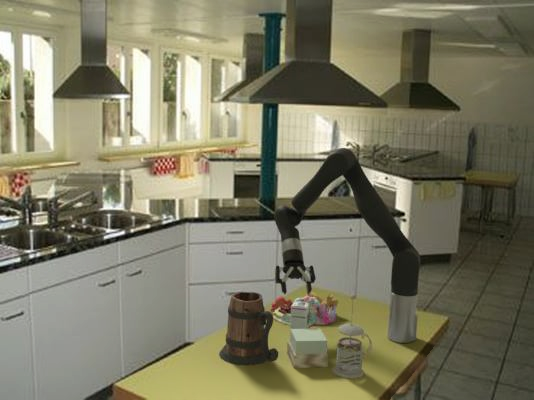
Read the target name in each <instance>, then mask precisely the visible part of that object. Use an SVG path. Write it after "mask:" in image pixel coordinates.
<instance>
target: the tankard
mask: <svg viewBox="0 0 534 400" xmlns="http://www.w3.org/2000/svg"><path fill="white" fill-rule="evenodd" d="M265 309H266V308H265V306H264V300H263V295H262V294H261V293H258V292H254V291H250V292H249V291H248V292H247V291H239V292H235V293H233V294H232V295H231V297H230V301H229V304H228V306H227V314H228V315H227V328H226V329H227V330H226V334H225V342H226V343H225V344H224V346H223V347H222V348H221V350H220V351H219V353H218V354H219V355H218V356H219V358H220V359H221V360H223V361H224V362H226V363H228V364H231V365H235V366H245V367H246V366H249V367H251V366H256V365H261V364H263V363H266V362H267V363H272V362H275V361H277V360H278V358H279V351H278V349H277V348H275V347H273V348H270V349H269V347H270V346H269V335H270V330H271V329H272V327H273V324H274V319H273V315H272V313H271V311H270V310H266V311H265Z"/></svg>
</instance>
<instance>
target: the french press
mask: <svg viewBox="0 0 534 400" xmlns="http://www.w3.org/2000/svg"><path fill="white" fill-rule="evenodd" d="M349 299H351V300H356V299H357V296H356V294H354V293H353V294H350V296H349ZM351 307H352V309H351V314H353V313H354V312H353V311H354V303H352V306H351ZM337 330H338V332H339V333H340V334H342V335H344V336H349V337H342V338H340V339H338V344H336V346H337V347H336V361H335V362H336V365H335V366H334V367H333V368H332V372H333V373H334V374H335V375H336V376H338V377H340V378H344V379H345V378H346V379H358V377H359V378H361V377H363V376H364V374H365V371H364V370H363V367H362V366H363V358H365V357H366V356H368V355H369V354H370V353H371V351H372V348H373V342H372V339H371V338H370V335H368V334H367V333H365V330H364V328H363V327H361V325H358V324H356V323H353V318H351V322H350V323H344V324H341V325H339V326H338V328H337ZM358 336H361V338H362V339H364V337H367V338H368V341H369V343H370V344H369V346H368V348H367V350H366V351H365V352H364V353H363V347H362V344H363V343H362V340H361V339H358V338H355V337H358ZM342 348H343V349H342ZM366 353H367V354H366ZM365 354H366V355H365ZM363 355H364V356H363ZM362 375H363V376H362Z"/></svg>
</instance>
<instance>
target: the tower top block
mask: <svg viewBox="0 0 534 400" xmlns="http://www.w3.org/2000/svg"><path fill="white" fill-rule="evenodd" d="M289 341H290V343H291V346H292V348H293V350H294V352H295V355H304V354H327V353H328V351H327V349H328V339H327V337H326V336H325V333H323V331H322V329H321V328H309V329H290V328H289Z"/></svg>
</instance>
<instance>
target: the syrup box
mask: <svg viewBox="0 0 534 400" xmlns="http://www.w3.org/2000/svg"><path fill="white" fill-rule="evenodd" d="M292 302H293V304H292V306H291V322H290V326H289V327H290V328H289V330H290V329H310V328H309V302H305V301H294V300H293V301H292Z"/></svg>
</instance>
